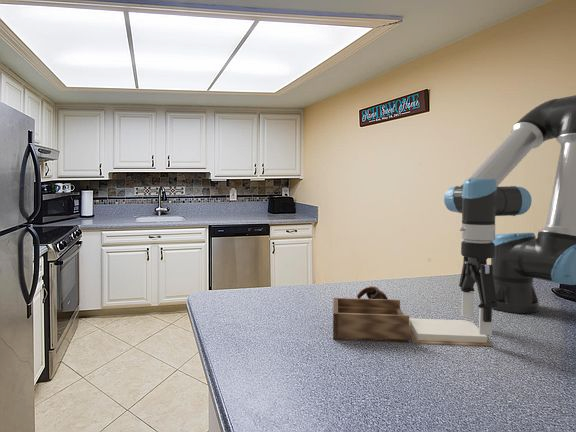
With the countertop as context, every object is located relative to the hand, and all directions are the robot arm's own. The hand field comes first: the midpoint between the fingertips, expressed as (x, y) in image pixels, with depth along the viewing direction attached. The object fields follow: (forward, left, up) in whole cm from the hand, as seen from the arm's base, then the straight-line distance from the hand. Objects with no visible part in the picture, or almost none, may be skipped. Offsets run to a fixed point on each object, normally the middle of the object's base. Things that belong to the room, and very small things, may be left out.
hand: (475, 324), depth 104 cm
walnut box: (+27, 0, -3) cm, 27 cm away
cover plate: (+7, 0, -2) cm, 8 cm away
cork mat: (+8, 0, -3) cm, 8 cm away
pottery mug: (+24, -19, -3) cm, 31 cm away
